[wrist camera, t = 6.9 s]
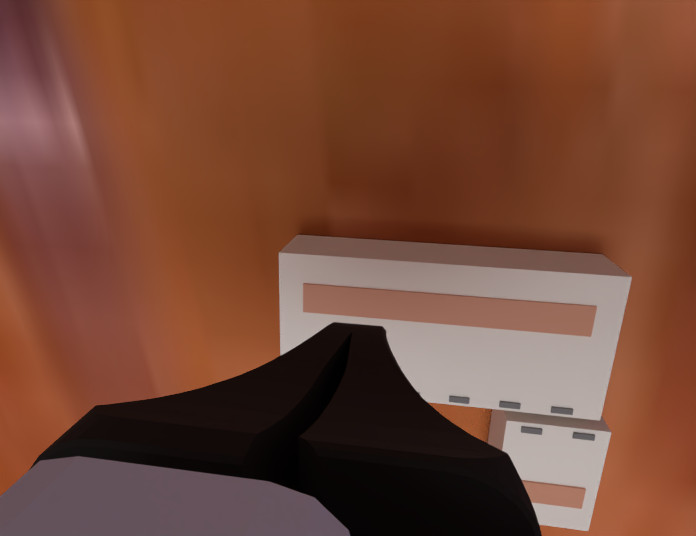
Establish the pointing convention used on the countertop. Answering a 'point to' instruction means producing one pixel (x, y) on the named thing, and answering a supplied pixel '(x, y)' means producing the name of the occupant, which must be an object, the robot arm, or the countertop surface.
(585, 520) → the stub
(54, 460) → the robot arm
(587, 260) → the white striped box
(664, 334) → the countertop surface
